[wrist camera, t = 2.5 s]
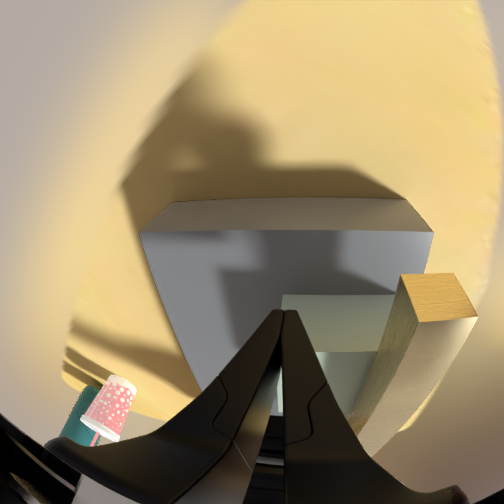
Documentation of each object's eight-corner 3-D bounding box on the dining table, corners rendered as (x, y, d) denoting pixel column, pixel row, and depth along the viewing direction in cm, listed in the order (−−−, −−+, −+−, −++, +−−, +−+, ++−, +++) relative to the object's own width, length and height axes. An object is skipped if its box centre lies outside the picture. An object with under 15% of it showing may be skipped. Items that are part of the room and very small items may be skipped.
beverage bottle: (85, 380, 38) (40, 462, 21) (95, 375, 35) (45, 470, 18) (112, 400, 40) (73, 482, 23) (126, 398, 37) (83, 492, 20)
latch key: (357, 413, 18) (357, 471, 14) (329, 414, 19) (326, 472, 14) (423, 224, 10) (483, 315, 5) (371, 222, 10) (412, 322, 5)
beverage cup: (118, 390, 35) (84, 458, 24) (98, 367, 32) (57, 440, 21) (148, 398, 34) (114, 474, 22) (128, 375, 31) (86, 459, 19)
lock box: (360, 380, 22) (362, 416, 19) (220, 374, 25) (209, 407, 22) (406, 199, 13) (433, 232, 10) (171, 202, 16) (138, 232, 13)
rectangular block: (376, 364, 15) (381, 410, 12) (284, 364, 16) (278, 412, 13) (400, 294, 12) (417, 348, 9) (283, 294, 13) (274, 350, 10)
